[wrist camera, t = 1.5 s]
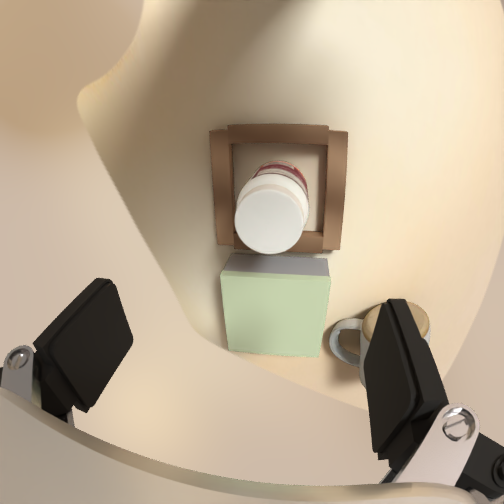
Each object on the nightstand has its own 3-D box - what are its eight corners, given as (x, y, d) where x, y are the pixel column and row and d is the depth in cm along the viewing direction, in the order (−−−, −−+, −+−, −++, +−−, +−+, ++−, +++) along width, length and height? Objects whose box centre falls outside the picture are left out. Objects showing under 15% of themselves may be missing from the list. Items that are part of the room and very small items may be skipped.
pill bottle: (280, 224, 25) (269, 274, 18) (239, 187, 24) (211, 223, 17) (319, 188, 23) (327, 225, 16) (278, 147, 22) (266, 165, 15)
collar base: (213, 125, 22) (209, 126, 21) (345, 126, 20) (348, 127, 19) (221, 242, 27) (218, 248, 26) (337, 247, 25) (339, 253, 24)
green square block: (230, 253, 27) (219, 275, 24) (327, 257, 26) (331, 281, 22) (236, 325, 31) (228, 350, 28) (318, 330, 30) (318, 357, 26)
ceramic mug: (420, 288, 26) (443, 339, 19) (416, 342, 29) (430, 392, 22) (323, 307, 29) (324, 363, 22) (333, 358, 32) (333, 410, 25)
